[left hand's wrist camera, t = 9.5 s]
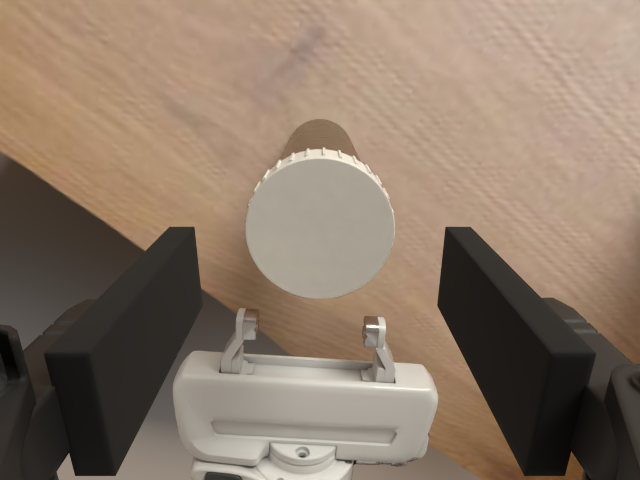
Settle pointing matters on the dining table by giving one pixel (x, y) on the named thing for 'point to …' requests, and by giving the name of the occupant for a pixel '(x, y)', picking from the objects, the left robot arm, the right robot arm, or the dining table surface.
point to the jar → (319, 138)
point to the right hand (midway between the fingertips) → (311, 316)
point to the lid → (319, 224)
